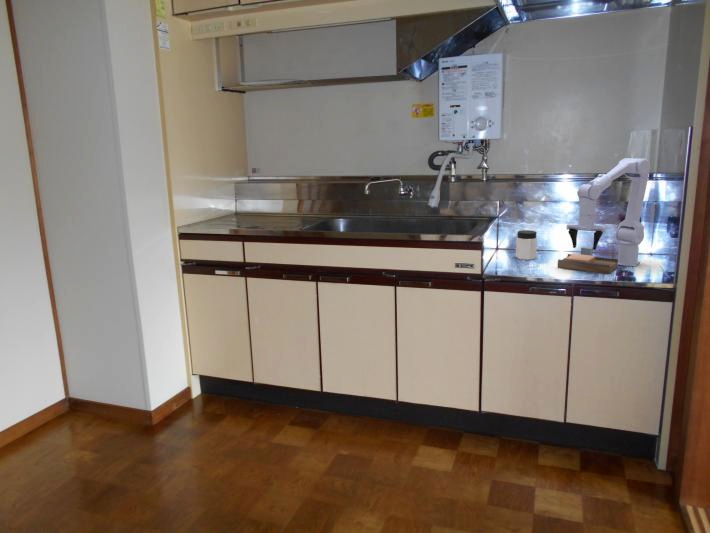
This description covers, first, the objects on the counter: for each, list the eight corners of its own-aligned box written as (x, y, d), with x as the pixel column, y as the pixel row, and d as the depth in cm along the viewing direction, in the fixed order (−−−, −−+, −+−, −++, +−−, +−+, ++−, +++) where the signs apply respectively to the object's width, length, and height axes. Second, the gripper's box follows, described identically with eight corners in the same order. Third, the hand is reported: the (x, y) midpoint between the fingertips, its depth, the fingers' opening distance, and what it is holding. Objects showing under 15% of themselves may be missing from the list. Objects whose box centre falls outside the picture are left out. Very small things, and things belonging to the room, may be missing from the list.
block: (582, 259, 244) (583, 246, 242) (592, 260, 241) (593, 247, 240) (580, 261, 240) (581, 247, 239) (589, 262, 238) (590, 248, 237)
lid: (573, 257, 237) (573, 253, 236) (595, 259, 231) (595, 256, 231) (565, 261, 228) (565, 258, 228) (587, 264, 223) (588, 260, 222)
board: (567, 261, 240) (568, 253, 239) (617, 267, 228) (618, 259, 227) (557, 268, 229) (558, 259, 228) (608, 274, 217) (609, 265, 216)
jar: (525, 255, 255) (526, 229, 252) (539, 258, 248) (541, 231, 245) (511, 257, 250) (513, 231, 247) (526, 260, 243) (527, 234, 241)
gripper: (565, 214, 219) (563, 248, 222) (604, 217, 211) (601, 252, 214) (570, 212, 225) (568, 245, 228) (608, 215, 216) (605, 248, 219)
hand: (584, 248), depth 221 cm, fingers open, 7 cm apart
